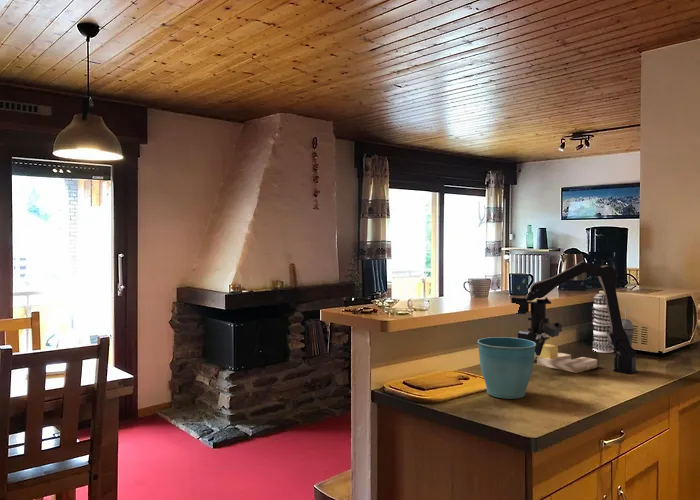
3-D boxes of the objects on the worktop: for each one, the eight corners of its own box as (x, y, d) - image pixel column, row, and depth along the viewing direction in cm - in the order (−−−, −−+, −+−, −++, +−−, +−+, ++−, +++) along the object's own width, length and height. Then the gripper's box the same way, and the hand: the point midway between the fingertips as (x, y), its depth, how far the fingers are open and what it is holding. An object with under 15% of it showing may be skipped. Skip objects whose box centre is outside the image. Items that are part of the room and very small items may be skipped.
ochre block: (557, 357, 221) (557, 345, 220) (550, 358, 218) (550, 347, 217) (546, 355, 225) (546, 343, 224) (539, 356, 222) (538, 345, 221)
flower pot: (525, 386, 189) (525, 336, 189) (544, 402, 171) (544, 347, 171) (472, 387, 189) (472, 337, 189) (485, 403, 171) (485, 347, 171)
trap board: (597, 367, 216) (597, 353, 216) (576, 372, 208) (576, 358, 207) (536, 355, 238) (536, 342, 237) (515, 360, 229) (515, 346, 229)
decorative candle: (602, 353, 240) (602, 295, 240) (587, 349, 249) (587, 293, 249) (619, 352, 243) (619, 294, 243) (603, 348, 252) (603, 292, 252)
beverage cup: (610, 355, 237) (611, 307, 237) (622, 353, 241) (623, 306, 240) (625, 358, 231) (625, 309, 230) (638, 356, 234) (638, 308, 233)
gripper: (541, 319, 204) (541, 362, 205) (571, 315, 215) (571, 355, 216) (516, 316, 213) (516, 357, 214) (545, 312, 224) (545, 351, 225)
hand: (538, 355), depth 217 cm, fingers closed
